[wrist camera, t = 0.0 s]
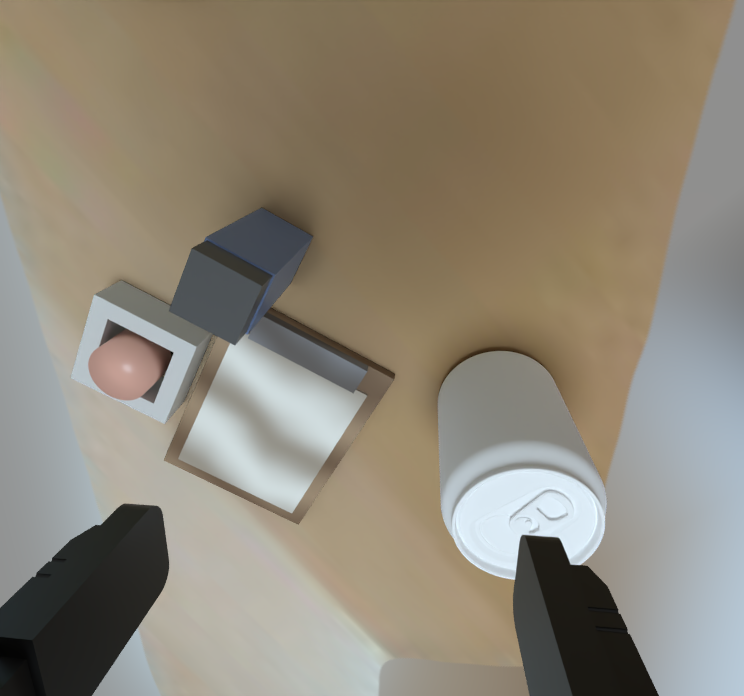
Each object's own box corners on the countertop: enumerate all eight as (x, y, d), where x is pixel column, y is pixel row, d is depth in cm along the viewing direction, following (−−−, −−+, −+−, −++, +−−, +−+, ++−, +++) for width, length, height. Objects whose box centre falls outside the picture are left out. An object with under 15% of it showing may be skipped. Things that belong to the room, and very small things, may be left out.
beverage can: (413, 395, 35) (407, 520, 24) (503, 322, 32) (542, 428, 21) (488, 464, 36) (514, 609, 26) (580, 401, 33) (652, 536, 23)
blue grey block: (261, 207, 30) (190, 245, 21) (313, 236, 31) (265, 285, 22) (240, 257, 32) (166, 311, 23) (290, 284, 32) (236, 348, 23)
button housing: (121, 280, 33) (94, 294, 30) (215, 328, 34) (196, 346, 31) (97, 358, 36) (70, 377, 33) (183, 401, 37) (164, 423, 34)
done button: (124, 316, 33) (96, 334, 30) (178, 344, 33) (156, 364, 30) (109, 361, 34) (82, 382, 32) (161, 387, 35) (139, 410, 32)
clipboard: (239, 291, 33) (230, 299, 31) (394, 373, 34) (393, 385, 33) (168, 454, 39) (158, 466, 38) (300, 517, 41) (296, 532, 39)
